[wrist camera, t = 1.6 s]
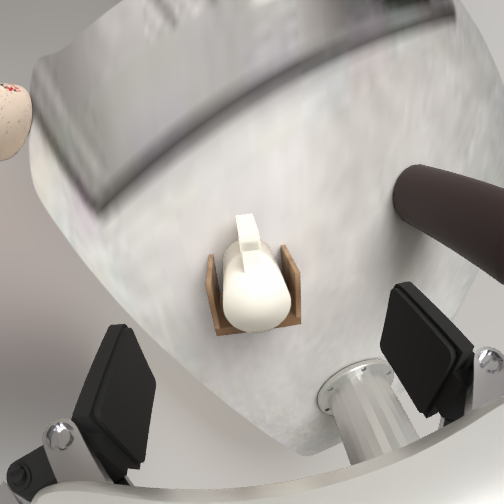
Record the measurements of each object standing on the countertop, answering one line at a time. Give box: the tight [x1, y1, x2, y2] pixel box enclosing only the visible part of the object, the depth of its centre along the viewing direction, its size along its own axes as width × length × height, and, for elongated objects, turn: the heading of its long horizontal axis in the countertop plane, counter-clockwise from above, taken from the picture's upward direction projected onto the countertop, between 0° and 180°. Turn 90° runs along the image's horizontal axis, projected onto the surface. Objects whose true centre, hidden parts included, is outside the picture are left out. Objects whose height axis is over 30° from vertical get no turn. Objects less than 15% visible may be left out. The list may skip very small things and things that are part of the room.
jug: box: [223, 214, 291, 333], centre depth 24 cm, size 8×5×8 cm, turn 6°
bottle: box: [394, 164, 504, 284], centre depth 17 cm, size 7×7×20 cm
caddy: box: [206, 245, 301, 336], centre depth 25 cm, size 5×7×6 cm
